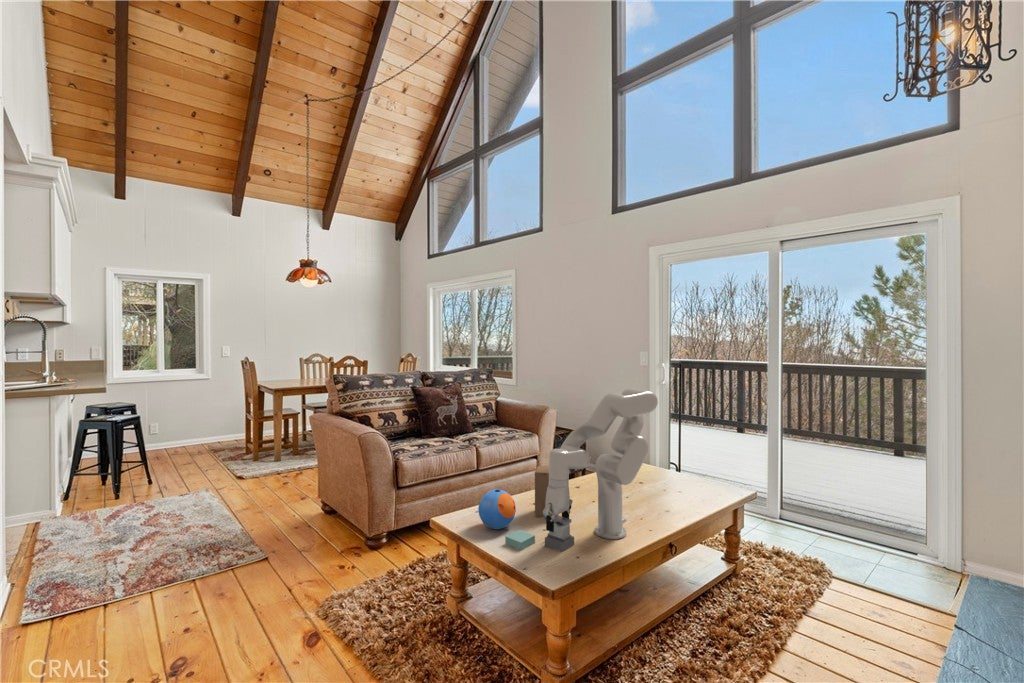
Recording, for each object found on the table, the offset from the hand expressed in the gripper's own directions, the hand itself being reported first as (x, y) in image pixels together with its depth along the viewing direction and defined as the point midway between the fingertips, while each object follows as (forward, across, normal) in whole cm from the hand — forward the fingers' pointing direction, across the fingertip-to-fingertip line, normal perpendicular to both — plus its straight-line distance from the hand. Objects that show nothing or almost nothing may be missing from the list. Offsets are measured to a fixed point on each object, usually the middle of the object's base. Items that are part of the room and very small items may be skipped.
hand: (557, 527), depth 178 cm
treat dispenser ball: (+8, +3, -29) cm, 30 cm away
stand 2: (+7, -1, 0) cm, 7 cm away
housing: (+4, -1, 0) cm, 4 cm away
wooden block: (+7, -22, -22) cm, 32 cm away
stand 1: (+7, +8, -12) cm, 16 cm away
